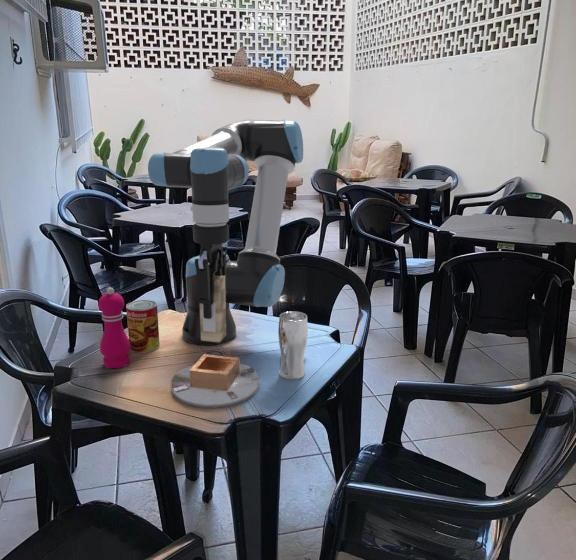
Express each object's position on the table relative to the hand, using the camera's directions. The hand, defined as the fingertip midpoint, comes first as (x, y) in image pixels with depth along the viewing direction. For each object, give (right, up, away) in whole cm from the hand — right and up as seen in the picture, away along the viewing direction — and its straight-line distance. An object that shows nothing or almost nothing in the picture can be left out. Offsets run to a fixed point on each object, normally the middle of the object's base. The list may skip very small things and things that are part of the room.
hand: (213, 326), depth 118 cm
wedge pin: (0, -3, +1) cm, 3 cm away
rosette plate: (0, -14, +4) cm, 15 cm away
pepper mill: (-26, -11, +15) cm, 32 cm away
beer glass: (+18, -13, +11) cm, 24 cm away
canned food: (-22, -8, +25) cm, 34 cm away
